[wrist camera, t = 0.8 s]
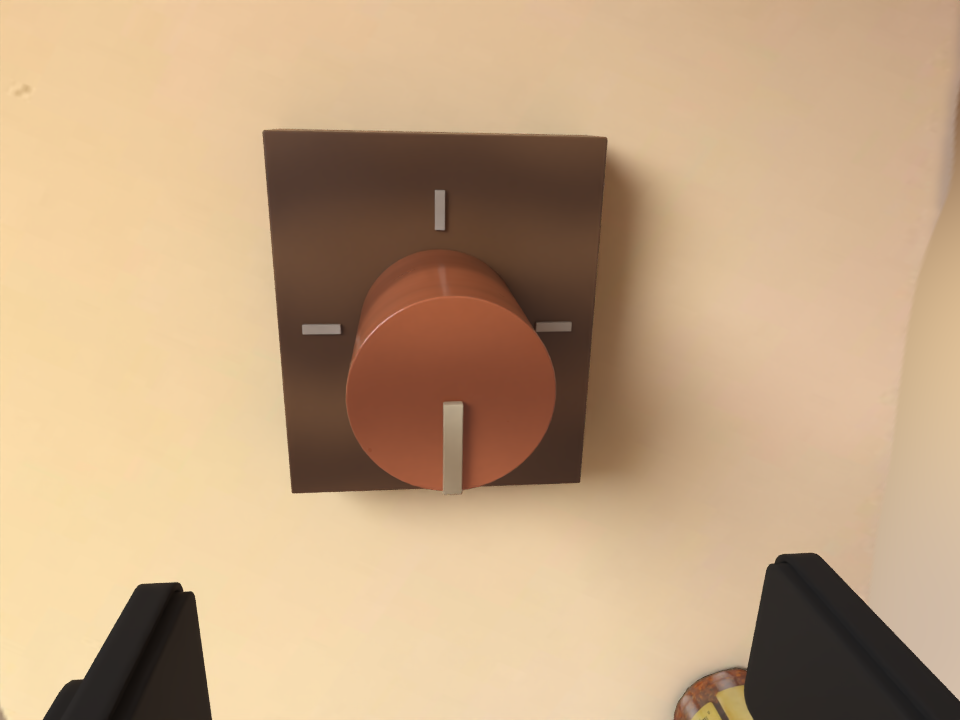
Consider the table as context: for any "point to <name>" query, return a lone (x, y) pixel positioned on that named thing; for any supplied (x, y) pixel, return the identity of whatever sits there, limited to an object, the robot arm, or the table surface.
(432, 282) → the rotary dial knob
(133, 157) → the table surface
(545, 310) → the dial base plate
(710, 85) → the table surface
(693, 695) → the sauce bottle
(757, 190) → the table surface
